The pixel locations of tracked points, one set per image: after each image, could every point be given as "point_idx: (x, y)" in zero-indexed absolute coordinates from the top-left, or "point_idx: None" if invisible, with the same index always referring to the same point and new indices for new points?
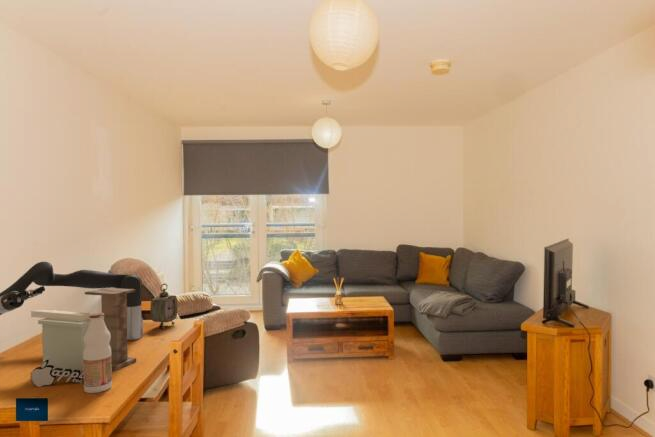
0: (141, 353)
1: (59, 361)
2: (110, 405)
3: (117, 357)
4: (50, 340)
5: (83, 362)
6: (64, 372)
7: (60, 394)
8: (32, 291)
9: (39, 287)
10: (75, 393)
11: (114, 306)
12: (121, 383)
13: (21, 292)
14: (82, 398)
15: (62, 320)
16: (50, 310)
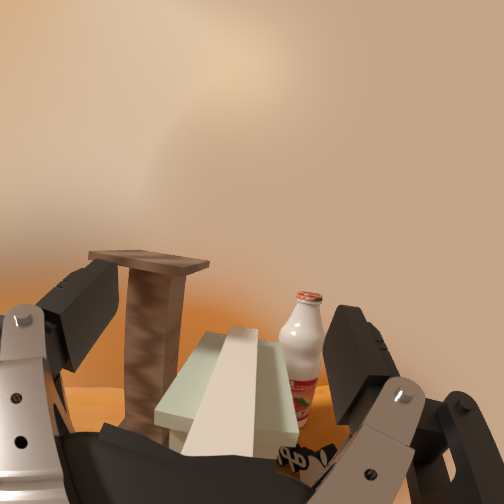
0: (72, 412)
1: None
2: (319, 390)
3: None
4: None
5: (315, 383)
6: (298, 447)
7: (329, 444)
8: (52, 382)
9: (94, 282)
10: (314, 432)
11: (182, 298)
12: None
13: (379, 336)
14: (322, 417)
15: (265, 375)
16: (207, 403)
